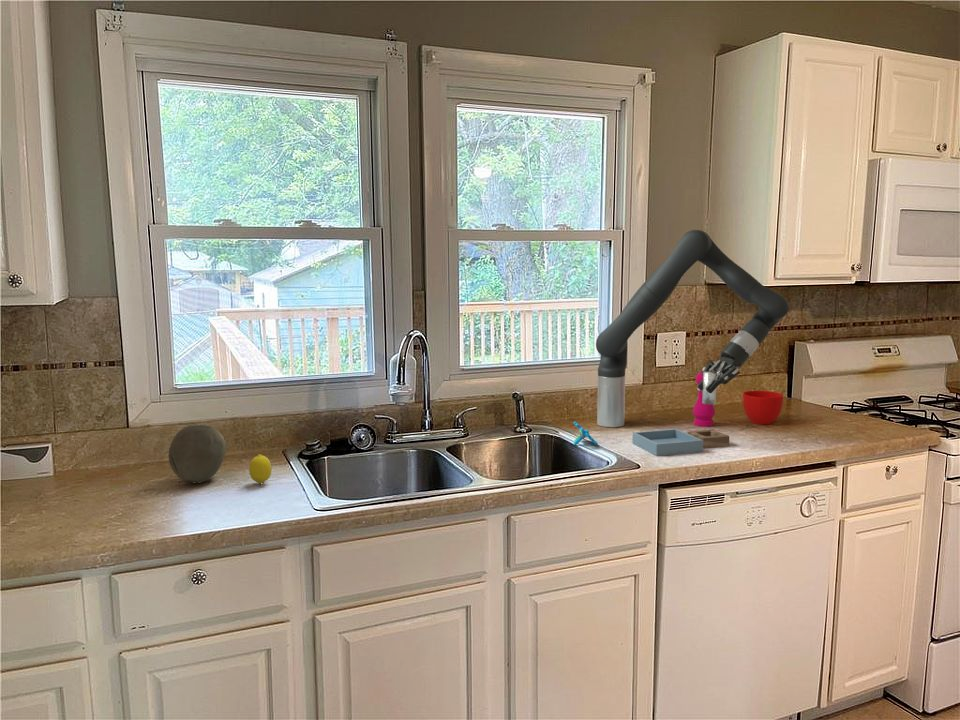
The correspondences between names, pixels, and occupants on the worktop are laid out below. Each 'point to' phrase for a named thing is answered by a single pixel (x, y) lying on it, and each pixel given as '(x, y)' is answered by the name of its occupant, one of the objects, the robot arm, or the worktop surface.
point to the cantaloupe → (197, 453)
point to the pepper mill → (702, 407)
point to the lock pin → (707, 379)
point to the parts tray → (667, 442)
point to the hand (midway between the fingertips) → (703, 389)
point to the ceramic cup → (762, 406)
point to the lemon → (260, 469)
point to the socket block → (711, 438)
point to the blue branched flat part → (583, 435)
